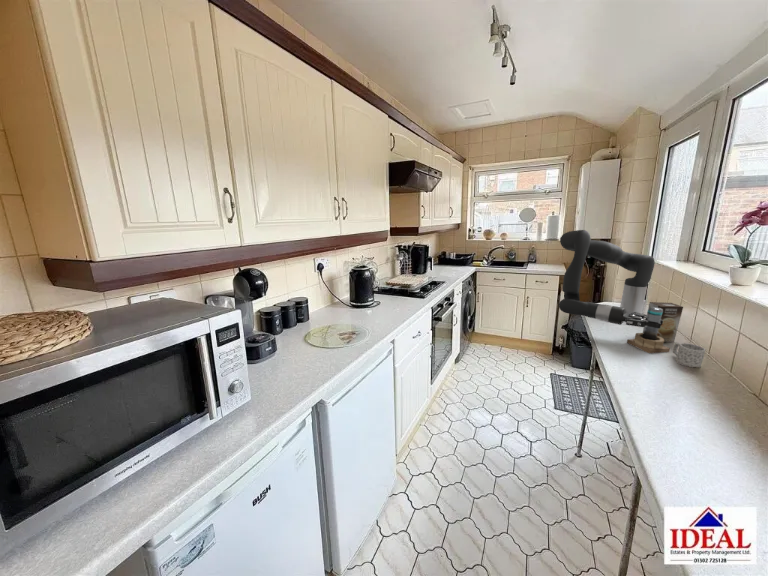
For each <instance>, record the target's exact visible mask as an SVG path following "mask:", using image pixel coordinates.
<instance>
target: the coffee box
mask: <svg viewBox="0 0 768 576" xmlns="http://www.w3.org/2000/svg"><path fill="white" fill-rule="evenodd" d="M649 307H657V308H661V309H663V313H662V317H661V320H663V324H662V325H661V327H660V328H659V329H658V333H657V336H659V337H661V338H663V339H664V342H671V343H672V342H674V343H675V340H676V337H677V332H678V329H679V325H680V321H681V317H682V313H683V310H684V306H682V305H680V304H677V303H673V302H658V301H655V302H654V301H649V304H648V308H649ZM643 330H644V328H643V329H642V331H643Z"/></svg>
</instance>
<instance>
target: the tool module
mask: <svg viewBox="0 0 768 576" xmlns="http://www.w3.org/2000/svg"><path fill="white" fill-rule="evenodd" d="M648 307H649V306H648ZM662 313H663V309H661V308H657V307H649V308H648V309H647V313H646V315H647V317H646V318H645V319H646V320H648V321H653V322H658V323H660V321H661V317H662ZM643 329H644V330H643ZM643 329H642V333H643V335H642V338H645V339H649V340H654V341H655V340H656V338H657V333H658V329H659V328H654V327H649V326H647V327H643Z"/></svg>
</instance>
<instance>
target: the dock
mask: <svg viewBox="0 0 768 576" xmlns="http://www.w3.org/2000/svg"><path fill="white" fill-rule="evenodd" d="M634 335H635V336H634V338H629V339H627V340H626V344H629V345H631V346H633V347H636V348H637V349H640V350H641V351H644V352H646V353H648V354H657V353H659V354H660V353H670V351H671V350H670V349H671V348H670V347H668V346H665V344H664V343H665V341H664V339H663V338H661V337H659V336H657V338H656V340H655V341H654V340H649V339H645V338H642V335H643V332H636V333H635V334H634Z"/></svg>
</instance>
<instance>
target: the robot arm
mask: <svg viewBox="0 0 768 576" xmlns="http://www.w3.org/2000/svg"><path fill="white" fill-rule="evenodd" d="M559 242H560V245H561V247H562V248H563V249H565V250H566V251H571V252H574V255H573V257H572V260H571V263H570V264H569V266H568V267H567V269H566V270H565V272H564V275H563V279H562V280H563V281H562V292H563V294H564V296H563V299H561V300H560V301H559V303H558V308H559V310H560V311H561V312H563V313H565V314H568V315H576V316H584V317H586V318H591V319H595V320H599V321H602V322H606V323H611V324H615V325H620V326H621V325H622V324H623V323H625V325H627V326H631V327H639V328H644V327H647V326H649V327H654V328H660V327H661V325H662V324H663V320H661V321H660V323H658V322H653V321H648V320H646V317H647V314H646V313H645V314H644V311H645V307H646V303H647V301H646V299H645V298H646V293H647V288H648V285H649V282H650V281H651V279H652V274H653V272H654V268H655V259H654V257H653V256H652V255H650V254H649V255H648V254H641V253H633V252H628V251H624V250H623V249H622V248H621V246H619V245H618V244H615V243H611V242H609V241H605V240H597V239H596V240H595V239H591V235H590V233H589V231H587V230H586V229H579V230H576V229H575V230H570V231H567V232H564V233H563V234H562V235H561V236H560V239H559ZM587 256H588V257H590V258H594V259H596V260H598V261H601V262H605V263H607V264H608V263H609V264H612V265H616V266H619V267H621V268H623V269H625V270H627V271H630V272H633V273H635V275H634V276H633V277H628V278H625V280H624V284H623V288H622V289H623V290H622V294H621V300H620V305H619V306H617V305H611V304H605V303H596V302H592V301H591V302H590V301H582V300H580V299H581V298H580V287H581V280H582V272H583V268H584V265H585V261H586V259H587Z"/></svg>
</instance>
